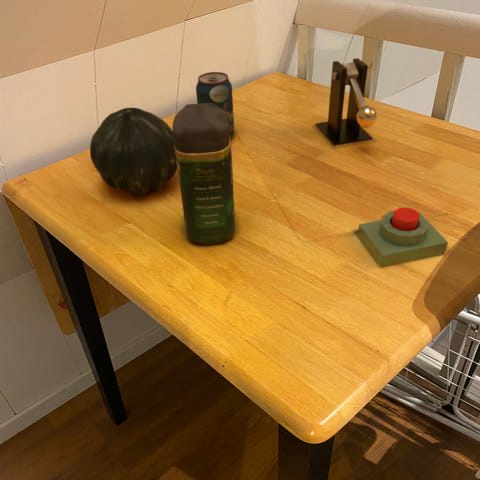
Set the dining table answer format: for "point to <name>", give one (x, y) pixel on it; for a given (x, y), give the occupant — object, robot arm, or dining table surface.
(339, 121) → the switch bracket
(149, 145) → the squash
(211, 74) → the soda can
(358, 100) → the switch lever
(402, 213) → the button
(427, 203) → the dining table surface
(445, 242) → the panel
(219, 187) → the coffee jar
